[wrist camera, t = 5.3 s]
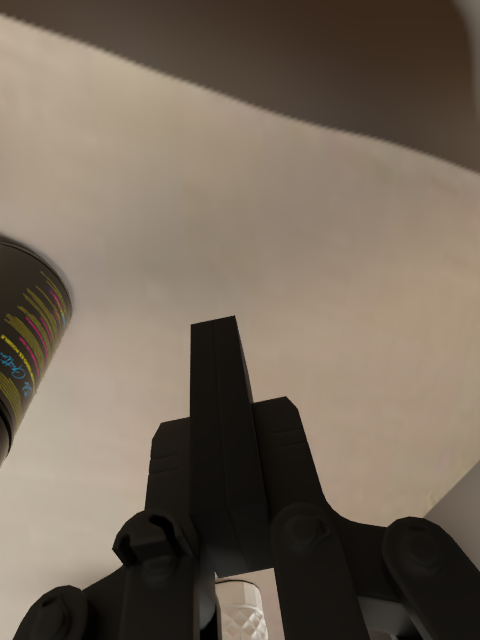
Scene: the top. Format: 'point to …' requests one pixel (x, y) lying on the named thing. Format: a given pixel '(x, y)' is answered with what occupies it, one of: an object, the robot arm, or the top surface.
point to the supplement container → (26, 332)
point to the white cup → (241, 611)
